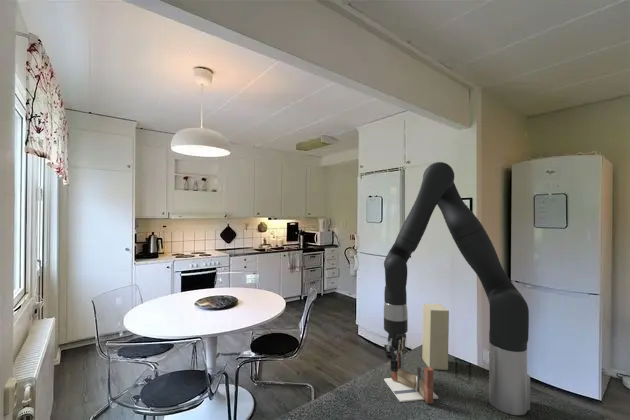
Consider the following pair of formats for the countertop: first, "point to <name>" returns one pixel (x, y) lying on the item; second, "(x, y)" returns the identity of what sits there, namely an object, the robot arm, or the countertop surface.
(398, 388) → the card
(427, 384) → the brown piece
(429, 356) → the upright wooden block
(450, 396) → the countertop surface
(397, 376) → the toy gate half
